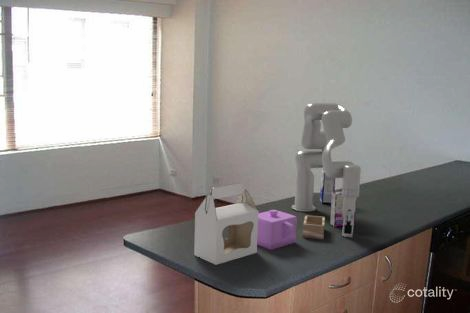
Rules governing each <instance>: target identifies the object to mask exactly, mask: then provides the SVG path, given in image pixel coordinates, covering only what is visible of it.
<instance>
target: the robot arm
mask: <svg viewBox="0 0 470 313" xmlns="http://www.w3.org/2000/svg"><path fill="white" fill-rule="evenodd" d="M303 118H304V124H303V130H302V136H301V146H302V149H303V150H300V151H297V153H296V154H295V157H294V160H295V168H296V174H295V175H296V176H295V191H294V192H295V194H294V195H295V196H294V204H292V205H291V209H292V210H293V209H294V211H297V212H303V213H305V212H306V213H307V212H308V213H309V212H314V211H316V206H314V193H315V192H314V190H315V189H314V187H315V175H314V173H313V172H312V170H311V169H322V168H323V169H324V172H325V174H326V176H327V177H329V178H335V179H342V181H341V182H342V183H341V185H342V186H341V191H342V196H344V198H343V211H342V217H343V218H345V219H346V220H345V226H344V233H345V234H351V232H352V219H353V218H354V212H355V203H356V204H357V199H356V197H357V198H359V197H360V183H361V174H362V173H361V172H362V169H361V166H360V165H358V164H355V163H353V162H352V161H348V160H347V161H346V160H345V161H333V160H332V157H331V152H332V150H333V149H335V148H337V147H340V146H342V145H343V144H344V143H345V141H346V136H345V133H344V129H348V128H350V127H351V126H352V124H353V123H352V122H353V118H352V114H351V112H349V111H348V109H346V108H345V107H343V105H340V104H339V103H333V102H332V103H330V102H329V103H328V102H326V103H325V102H312V103H308V104H306V105H305V107H304V110H303ZM322 127H323V130H321V128H322ZM347 217H348V218H347ZM350 220H351V221H350Z"/></svg>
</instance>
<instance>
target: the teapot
mask: <svg viewBox="0 0 470 313" xmlns="http://www.w3.org/2000/svg"><path fill="white" fill-rule="evenodd" d="M297 218H298V217H297V216H296V215H293V214H291V213H288V212H285V211H284V212H283V211H280V210H276V209H270V210H268V211H264V212H260V211H259V210H258V234H257V246H259V247H262V248H264V249H267V250H270V251H271V250H275V249H278V248H281V247H285V245H286V246H289V245H293V244H295V243H296V238H297V223H298V221H297V220H298V219H297ZM292 243H293V244H292ZM288 244H289V245H288Z"/></svg>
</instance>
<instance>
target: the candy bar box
mask: <svg viewBox="0 0 470 313" xmlns="http://www.w3.org/2000/svg"><path fill="white" fill-rule="evenodd" d="M343 198H344V196H342V190H341V191H339V190H338V191H335V192H332V200H331V204H330V205H331V206H330V220H329V221H330V222H329V223H330V226H332V225H333V227H334V228H337V226H338V228H341V227H340V226H343V217H342V211H343ZM357 198H358V197H356V200H357ZM356 215H357V202H356V203H355V212H354V224H353V227H354V226H356Z"/></svg>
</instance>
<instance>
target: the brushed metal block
mask: <svg viewBox="0 0 470 313" xmlns="http://www.w3.org/2000/svg"><path fill="white" fill-rule="evenodd" d="M347 218H348V217H347ZM345 220H346V219H345V218H343V227H342V232H341V237H342V236H344V237H343V238H354V237H353V235H354V226H353V224H354V218H353V219H352V232H351V234H345V233H344V226H345ZM350 221H351V220H350Z"/></svg>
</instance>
